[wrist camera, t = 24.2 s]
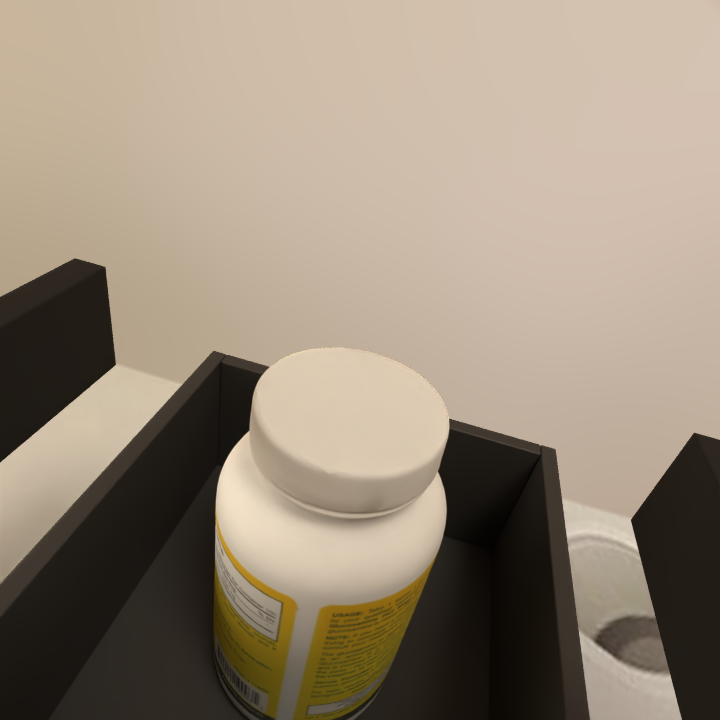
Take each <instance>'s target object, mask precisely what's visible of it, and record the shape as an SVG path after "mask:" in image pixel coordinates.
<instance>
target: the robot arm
mask: <svg viewBox="0 0 720 720" xmlns="http://www.w3.org/2000/svg"><path fill="white" fill-rule="evenodd" d="M115 365H116V362H115V352H114V344H113V334H112V324H111V315H110V307H109V298H108V287H107V278H106V269H105V267H103V266H100V265H97V264H93V263H90V262H86V261H82V260H79V259H73V260H71V261H69V262H67V263H65V264H63V265H61V266H59V267H57V268H55V269H54V270H52V271H50V272H48V273H46V274H44V275H42V276H40V277H38V278H36V279H35V280H32V281H31V282H28V283H27V284H24V285H23V286H21V287H19V288H17V289H15V290H13V291H11V292H9V293H7V294H5V295H3V296H1V297H0V462H1V461H2V460H4V459H5V458H6V457H7V456H8V455H10V454H11V453H12V452H13V451H14V450H15V449H17V448H18V447H19V446H20V445H21V444H23V443H24V442H25V441H26V440H27V439H29V438H30V437H31V436H32V435H33V434H34V433H36V432H37V431H38V430H39V429H40V428H42V427H43V426H44V425H45V424H46V423H47V422H49V421H50V420H51V419H52V418H53V417H55V416H56V415H57V414H58V413H59V412H60V411H62V410H63V409H64V408H65V407H66V406H68V405H69V404H70V403H71V402H72V401H74V400H75V399H76V398H77V397H78V396H79V395H81V394H82V393H83V392H84V391H85V390H87V389H88V388H89V387H90V386H91V385H92V384H94V383H95V382H96V381H97V380H98V379H100V378H101V377H102V376H103V375H104V374H105V373H107V372H108V371H109V370H110V369H111V368H113V367H114V366H115ZM631 522H632V526H633V530H634V534H635V538H636V542H637V546H638V550H639V554H640V558H641V561H642V565H643V569H644V573H645V577H646V581H647V585H648V589H649V593H650V597H651V600H652V604H653V608H654V612H655V616H656V620H657V624H658V628H659V632H660V636H661V640H662V643H663V647H664V651H665V655H666V659H667V663H668V667H669V671H670V675H671V679H672V682H673V686H674V690H675V694H676V698H677V702H678V706H679V710H680V714H681V718H682V720H720V440H718V439H715V438H711V437H707V436H704V435H700V434H697V433H694V434H693V435H692V436H691V438H690V439H689V441H688V442H687V443H686V445H685V446H684V447H683V449H682V450H681V452H680V453H679V455H678V456H677V457H676V459H675V460H674V461H673V463H672V464H671V466H670V467H669V468H668V470H667V471H666V472H665V474H664V475H663V476H662V478H661V479H660V481H659V482H658V483H657V485H656V486H655V487H654V489H653V490H652V492H651V493H650V494H649V496H648V497H647V498H646V500H645V501H644V503H643V504H642V505H641V507H640V508H639V510H638V511H637V512H636V514H635V515H634V516H633V518H632V519H631Z"/></svg>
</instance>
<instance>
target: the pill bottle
mask: <svg viewBox="0 0 720 720" xmlns="http://www.w3.org/2000/svg"><path fill="white" fill-rule="evenodd" d="M448 435H449V416H448V412H447V409H446V407H445V404H444V402H443V400H442V399H441V397H440V395H439V394H438V392H437V391H436V390H435V389H434V387H433V386H432V385H431V384H430V383H429V382H428V381H427V380H425V379H424V378H423V377H422V376H421V375H419V374H418V373H417V372H415V371H413V370H412V369H410V368H408V367H406V366H405V365H403V364H401V363H399V362H397V361H395V360H392V359H390V358H387V357H385V356H382V355H379V354H375V353H371V352H367V351H363V350H357V349H350V348H335V347H334V348H332V347H329V348H315V349H309V350H304V351H300V352H297V353H294V354H291V355H288V356H287V357H285V358H283V359H281V360H279V361H277V362H276V363H275V364H273V365H272V366H271V367H269V368H268V369H267V370H266V371H265V373H264V374H263V375H262V376H261V378H260V379H259V381H258V383H257V385H256V388H255V390H254V394H253V399H252V408H251V416H250V430H249V432H248V433H247V434H246V435H245V436H243V438H242V439H241V440H240V441H239V442H238V443H237V444H236V446H235V447H234V448H233V449H232V451H231V452H230V454H229V456H228V457H227V459H226V461H225V463H224V466H223V468H222V471H221V474H220V477H219V481H218V486H217V495H216V513H215V514H216V526H215V533H216V535H215V579H214V619H213V648H214V659H215V665H216V669H217V673H218V676H219V679H220V682H221V684H222V686H223V688H224V690H225V692H226V693H227V695H228V697H229V698H230V699H231V701H232V702H233V704H234V705H235V706H236V707H237V708H238V709H239V710H240V711H241V712H242V713H243V714H244V715H245V716H246V717H247V718H249V719H250V720H354V719H355V718H356V717H358V716H359V715H360V714H361V713H362V712H363V711H364V710H365V709H366V708H367V707H368V706H369V705H370V703H371V702H372V701H373V700H374V698H375V697H376V695H377V694H378V692H379V691H380V689H381V687H382V685H383V683H384V681H385V679H386V677H387V675H388V672H389V670H390V668H391V665H392V663H393V660H394V658H395V655H396V653H397V651H398V648H399V646H400V643H401V641H402V638H403V636H404V634H405V631H406V629H407V627H408V624H409V622H410V620H411V617H412V615H413V613H414V610H415V607H416V605H417V602H418V600H419V598H420V595H421V593H422V590H423V588H424V585H425V583H426V580H427V578H428V575H429V573H430V570H431V568H432V565H433V563H434V561H435V558H436V556H437V553H438V551H439V548H440V545H441V541H442V538H443V534H444V530H445V524H446V514H447V507H446V498H445V491H444V487H443V484H442V481H441V478H440V475H439V473H438V469H439V467H440V463H441V459H442V456H443V452H444V449H445V446H446V443H447V439H448Z"/></svg>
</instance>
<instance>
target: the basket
mask: <svg viewBox="0 0 720 720" xmlns="http://www.w3.org/2000/svg"><path fill="white" fill-rule="evenodd" d="M268 368H269V367H268V366H265V365H261V364H257V363H254V362H251V361H247V360H244V359H240V358H237V357H233V356H230V355H226V354H223V353H219V352H216V351H213V352H212V353H211V354H210V355H209V356H208V357H207V358H206V360H205V361H204V362H203V363H202V364H201V365H200V366H199V367H198V368H197V369H196V371H195V372H194V373H193V374H192V375H191V376H190V377H189V378H188V379H187V381H185V383H184V384H183V385H182V386H181V387H180V388H179V389H178V390H177V391H176V392H175V393H174V395H173V396H172V397H171V398H170V399H169V400H168V401H167V402H166V403H165V404H164V405H163V407H162V408H161V409H160V410H159V411H158V412H157V413H156V414H155V415H154V416H153V418H152V419H151V420H150V421H149V422H148V423H147V424H146V425H145V426H144V427H143V428H142V430H141V431H140V432H139V433H138V434H137V435H136V436H135V437H134V438H133V439H132V441H131V442H130V443H129V444H128V445H127V446H126V447H125V448H124V449H123V450H122V451H121V453H120V454H119V455H118V456H117V457H116V458H115V459H114V460H113V461H112V462H111V463H110V465H109V466H108V467H107V468H106V469H105V470H104V471H103V472H102V473H101V474H100V476H99V477H98V478H97V479H96V480H95V481H94V482H93V483H92V484H91V485H90V486H89V488H88V489H87V490H86V491H85V492H84V493H83V494H82V495H81V496H80V497H79V499H78V500H77V501H76V502H75V503H74V504H73V505H72V506H71V507H70V508H69V509H68V511H67V512H66V513H65V514H64V515H63V516H62V517H61V518H60V519H59V520H58V521H57V523H56V524H55V525H54V526H53V527H52V528H51V529H50V530H49V531H48V532H47V534H46V535H45V536H44V537H43V538H42V539H41V540H40V541H39V542H38V543H37V544H36V546H35V547H34V548H33V549H32V550H31V551H30V552H29V553H28V554H27V555H26V557H25V558H24V559H23V560H22V561H21V562H20V563H19V564H18V565H17V566H16V567H15V569H14V570H13V571H12V572H11V573H10V574H9V575H8V576H7V577H6V578H5V579H4V581H3V582H2V583H1V584H0V720H250V719H249V718H247V717H246V716H245V715H244V714H243V713H242V712H241V711H240V710H239V709H238V708H237V707H236V706H235V705H234V704H233V702H232V701H231V699H230V698H229V697H228V695H227V693H226V692H225V690H224V688H223V686H222V684H221V682H220V679H219V676H218V673H217V669H216V665H215V659H214V648H213V619H214V579H215V535H216V533H215V526H216V514H215V513H216V495H217V486H218V481H219V477H220V474H221V471H222V468H223V466H224V463H225V461H226V459H227V457H228V456H229V454H230V452H231V451H232V449H233V448H234V447H235V446H236V444H237V443H238V442H239V441H240V440H241V439H242V438H243V436H245V435H246V434H247V433H248V432H249V430H250V416H251V408H252V399H253V394H254V390H255V388H256V385H257V383H258V381H259V379H260V378H261V376H262V375H263V374H264V373H265V371H266V370H267V369H268ZM438 473H439V475H440V478H441V481H442V484H443V487H444V491H445V498H446V507H447V514H446V524H445V530H444V534H443V538H442V541H441V545H440V548H439V551H438V553H437V556H436V558H435V561H434V563H433V565H432V568H431V570H430V573H429V575H428V578H427V580H426V583H425V585H424V588H423V590H422V593H421V595H420V598H419V600H418V602H417V605H416V607H415V610H414V613H413V615H412V617H411V620H410V622H409V624H408V627H407V629H406V631H405V634H404V636H403V638H402V641H401V643H400V646H399V648H398V651H397V653H396V655H395V658H394V660H393V663H392V665H391V668H390V670H389V672H388V675H387V677H386V679H385V681H384V683H383V685H382V687H381V689H380V691H379V692H378V694H377V695H376V697H375V698H374V700H373V701H372V702H371V703H370V705H369V706H368V707H367V708H366V709H365V710H364V711H363V712H362V713H361V714H360V715H359V716H358V717H356V718H355V719H354V720H590V717H589V709H588V702H587V694H586V686H585V678H584V670H583V662H582V654H581V646H580V638H579V630H578V623H577V615H576V607H575V599H574V591H573V583H572V575H571V567H570V559H569V552H568V544H567V536H566V528H565V520H564V512H563V504H562V496H561V489H560V481H559V473H558V465H557V457H556V450H555V449H553V448H549V447H546V446H540V445H539V444H535V443H532V442H528V441H525V440H521V439H517V438H514V437H511V436H507V435H504V434H501V433H497V432H494V431H490V430H487V429H483V428H480V427H476V426H473V425H469V424H466V423H462V422H459V421H455V420H452V419H449V435H448V439H447V443H446V446H445V449H444V452H443V456H442V459H441V463H440V467H439V469H438Z"/></svg>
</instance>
